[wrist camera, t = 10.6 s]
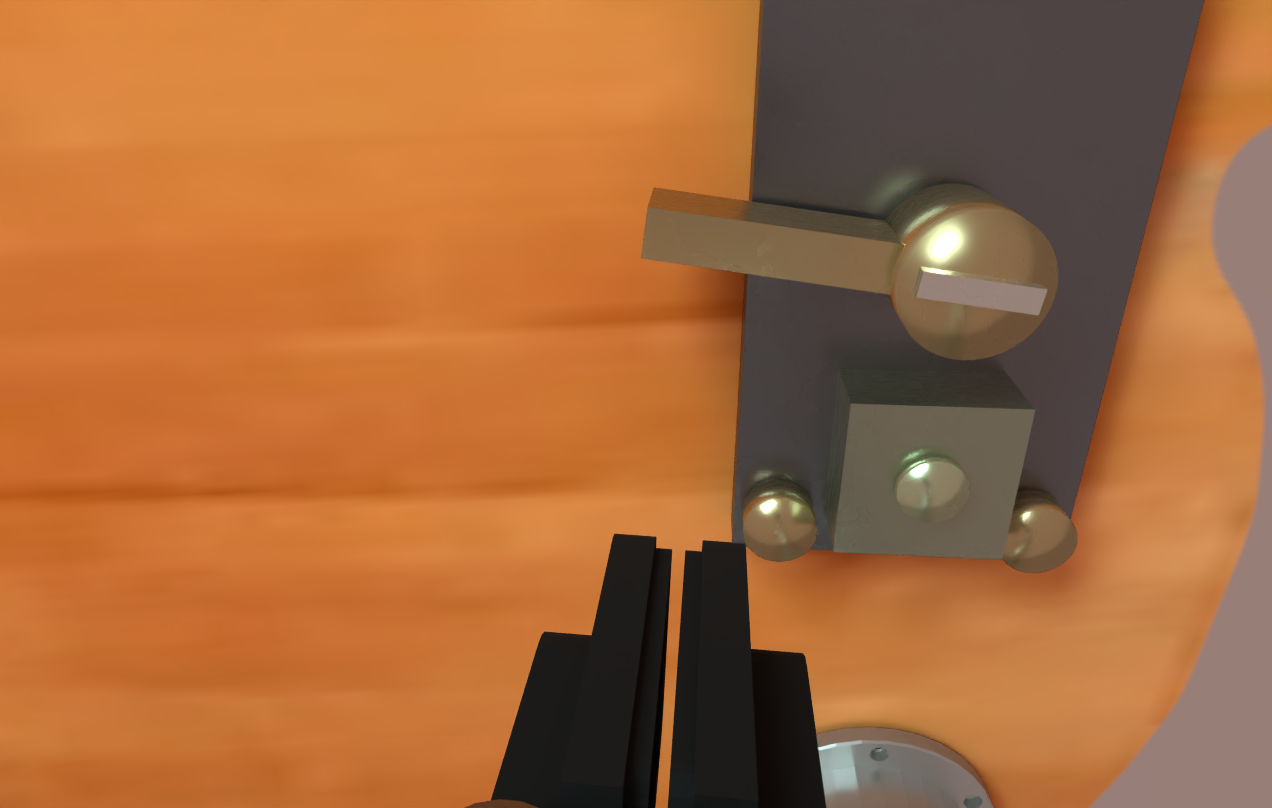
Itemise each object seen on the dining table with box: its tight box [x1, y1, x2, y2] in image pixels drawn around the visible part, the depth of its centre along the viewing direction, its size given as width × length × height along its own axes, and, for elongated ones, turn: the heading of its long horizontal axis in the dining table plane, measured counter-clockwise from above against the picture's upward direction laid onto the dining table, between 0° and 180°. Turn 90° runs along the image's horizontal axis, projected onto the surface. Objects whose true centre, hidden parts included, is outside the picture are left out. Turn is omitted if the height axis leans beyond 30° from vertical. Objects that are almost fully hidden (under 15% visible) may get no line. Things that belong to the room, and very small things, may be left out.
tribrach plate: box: [731, 0, 1204, 573], centre depth 29 cm, size 22×13×6 cm, turn 0°
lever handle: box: [641, 183, 1058, 360], centre depth 27 cm, size 12×5×4 cm, turn 83°
